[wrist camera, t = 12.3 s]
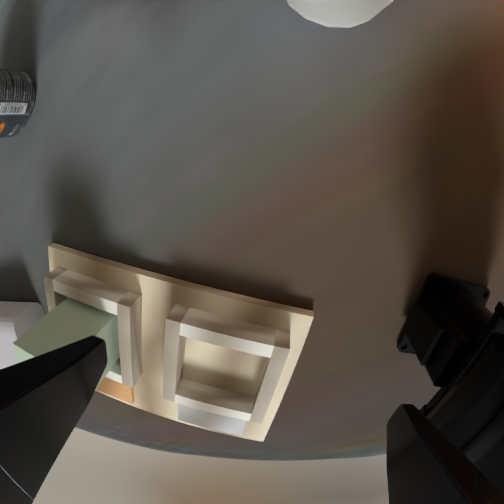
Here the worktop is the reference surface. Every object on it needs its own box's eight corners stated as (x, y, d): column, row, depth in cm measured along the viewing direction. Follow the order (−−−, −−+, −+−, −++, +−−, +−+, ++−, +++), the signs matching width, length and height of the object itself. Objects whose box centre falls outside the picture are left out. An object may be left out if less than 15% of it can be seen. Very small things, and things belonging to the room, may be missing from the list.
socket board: (313, 310, 20) (315, 333, 17) (263, 435, 25) (261, 457, 22) (54, 242, 21) (32, 254, 18) (72, 373, 26) (59, 388, 23)
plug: (122, 307, 21) (62, 372, 13) (123, 351, 22) (76, 417, 15) (76, 290, 21) (12, 343, 13) (80, 334, 22) (28, 389, 15)
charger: (-21, 297, 26) (40, 298, 23) (6, 357, 28) (74, 374, 26) (-44, 313, 21) (10, 321, 19) (-13, 375, 24) (52, 401, 22)
